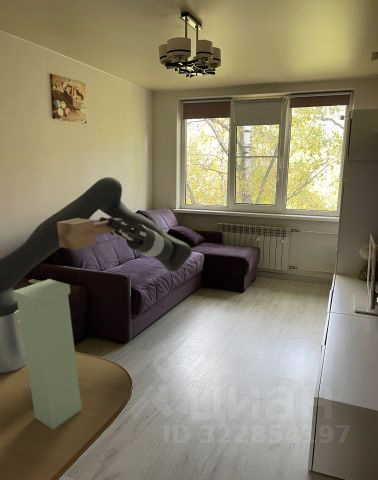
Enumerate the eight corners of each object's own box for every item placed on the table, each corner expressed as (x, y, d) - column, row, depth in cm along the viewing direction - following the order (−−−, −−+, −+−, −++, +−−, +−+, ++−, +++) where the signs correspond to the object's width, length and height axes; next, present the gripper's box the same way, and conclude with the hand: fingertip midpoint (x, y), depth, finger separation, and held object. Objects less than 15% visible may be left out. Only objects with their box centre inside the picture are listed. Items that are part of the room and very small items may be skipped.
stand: (32, 418, 87) (12, 291, 80) (64, 397, 94) (49, 279, 87) (51, 431, 83) (32, 298, 75) (84, 408, 90) (69, 284, 82)
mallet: (59, 246, 88) (56, 222, 87) (112, 233, 102) (110, 211, 100) (75, 249, 85) (72, 224, 84) (128, 235, 98) (126, 213, 97)
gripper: (132, 227, 114) (91, 206, 100) (167, 231, 106) (128, 208, 92) (125, 250, 112) (82, 232, 98) (160, 256, 104) (119, 237, 90)
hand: (104, 221), depth 95 cm, fingers closed on mallet, 2 cm apart
